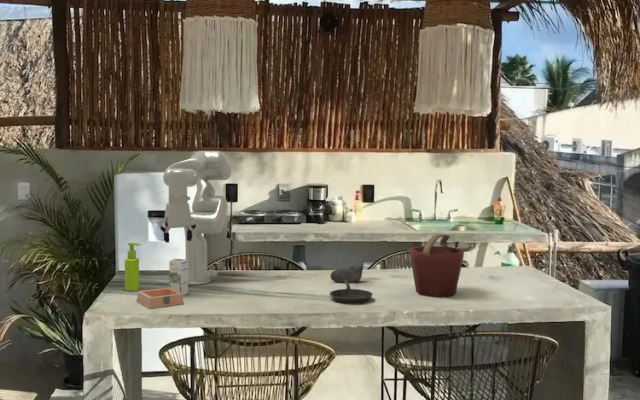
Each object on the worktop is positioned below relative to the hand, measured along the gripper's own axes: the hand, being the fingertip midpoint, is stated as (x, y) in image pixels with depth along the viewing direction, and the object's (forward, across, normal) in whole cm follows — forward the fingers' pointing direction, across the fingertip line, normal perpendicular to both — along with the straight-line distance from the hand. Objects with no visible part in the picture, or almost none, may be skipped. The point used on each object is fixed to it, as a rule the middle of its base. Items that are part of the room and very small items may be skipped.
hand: (178, 241), depth 284 cm
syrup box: (+22, 0, 0) cm, 22 cm away
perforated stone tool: (+22, -74, +16) cm, 79 cm away
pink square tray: (+22, +12, +10) cm, 27 cm away
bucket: (+22, -94, +54) cm, 111 cm away
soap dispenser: (+22, +12, -18) cm, 32 cm away
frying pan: (+22, -60, +38) cm, 74 cm away
